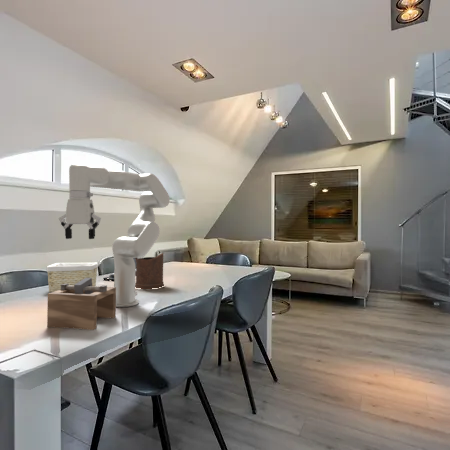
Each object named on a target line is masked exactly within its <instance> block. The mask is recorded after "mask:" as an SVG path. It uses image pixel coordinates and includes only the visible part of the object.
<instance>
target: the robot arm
mask: <svg viewBox="0 0 450 450" xmlns="http://www.w3.org/2000/svg"><path fill="white" fill-rule="evenodd" d="M68 174H69V175H68V176H69V177H68V179H69V181H68V182H69V183H68V185H69V186H68V187H69V188H68V190H69V194H68V195H69V197H68V198H69V199H67V202H66V210H65V214H63V215H62V216H60V217H59V218H58V220H59V223H60V226H61V227H63V229H64V236H65V239H66V240H68V239H69V240H70V239H72V238H73V230H72V229H73V228H72V226H74V225H87V226H88V228H89V229H88V239H89V240H93V239H94V240H95V237H96V229H97V228H98V227H99V225H100V223H101V221H102V217H100V216H99V215H97V214H95V205H94V203H93V199H91V197H93V196H94V193H92V192H91V188H101V189H111V190H122V191H132V192H140V193H141V192H142V193H141V194H140V195H139V198H138V204H139V210H140V211H139V214H138V215H137V216H136V218H135V219H134V220H133V221H132V223H131V224H130V226H129V227H128V229H127V232H126V233H127V236H120V237H117V238H115V239H114V240H113V243H112V247H111V248H112V255H113V260H114V261H113V262H114V267H113V268H114V271H113V273H114V281H113V287H116V308H128V307H133V306H136V305H138V304H139V300H138V299H137V298H136V296H137V295H138V292H137V291H136V289H135V283H136V276H135V271H136V261H135V258H137V259H140V258H145V256H147V255H148V254H149V252H150V251H151V249H152V247H153V246H154V245H155V243H156V242H157V240H158V239H159V236H160V230H161V229H160V227H159V224H158V223H156V222H155V220H156V216H155V213H154V209H158V208H159V209H161V208H162V209H163V208H166V207H168V206H169V204H170V201H171V200H170V199H171V198H170V195H169V193H168V191H167V190H166V188H165V187H164V185H163V183H162V182H161V181H160V179H159V178H158V177H157V176H156V175H155V174H153V173H134V172H128V171H124V170H111V171H110V170H108V169H106V168H105V167H102V166H89V165H85V164H79V163H78V164H77V163H75V164H71V165H70V166H69V169H68Z"/></svg>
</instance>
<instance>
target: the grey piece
mask: <svg viewBox="0 0 450 450" xmlns="http://www.w3.org/2000/svg"><path fill="white" fill-rule="evenodd" d="M86 286H92V278H85V279H83V280H81V281H80V282H78V283H76V284H75V285H74V289H75V294H83V288H85V287H86ZM92 293H93V291H88V290H85V294H92Z"/></svg>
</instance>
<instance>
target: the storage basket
mask: <svg viewBox="0 0 450 450" xmlns="http://www.w3.org/2000/svg"><path fill="white" fill-rule="evenodd" d="M98 263H99V262H97V261H96V262H55V263H52V264H50V265H47V266H46V272H47V282H48V283H47V284H48V292H49V293H52V292H55V291H58V290H61V284H69V285H72V286H74V285H75V284H76V283H78V282H80V281H81V280H83V279H85V278H92V286H96V285H97V274H98V273H97V272H98V267H99V264H98Z"/></svg>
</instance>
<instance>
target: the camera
mask: <svg viewBox="0 0 450 450" xmlns="http://www.w3.org/2000/svg"><path fill="white" fill-rule="evenodd" d="M107 278H109V279H108V280H114V274H113V273H112V274H110V275H109V276H106V277H103V279H107ZM103 279H102V280H103Z"/></svg>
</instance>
